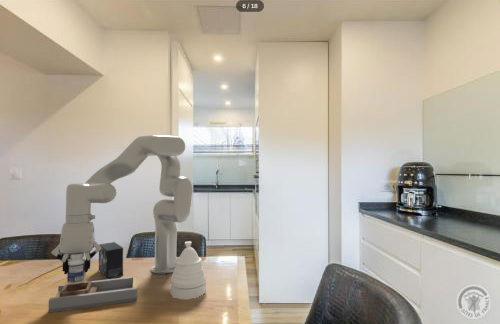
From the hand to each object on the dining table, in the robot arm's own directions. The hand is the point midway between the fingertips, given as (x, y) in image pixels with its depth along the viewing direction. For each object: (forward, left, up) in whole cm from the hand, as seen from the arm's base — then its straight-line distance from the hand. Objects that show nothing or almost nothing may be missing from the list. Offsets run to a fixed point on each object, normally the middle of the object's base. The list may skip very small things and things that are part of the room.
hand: (76, 271), depth 101 cm
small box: (-9, -26, -10) cm, 29 cm away
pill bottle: (0, 0, -4) cm, 4 cm away
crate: (0, 0, -9) cm, 9 cm away
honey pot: (-38, +5, -10) cm, 39 cm away
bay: (-7, 0, -10) cm, 12 cm away
